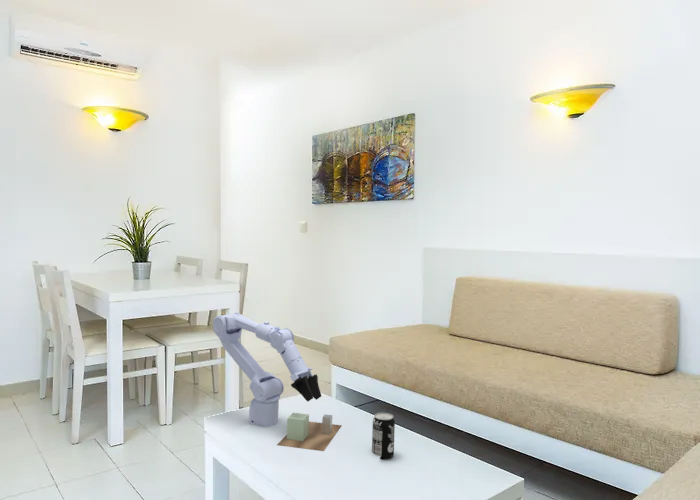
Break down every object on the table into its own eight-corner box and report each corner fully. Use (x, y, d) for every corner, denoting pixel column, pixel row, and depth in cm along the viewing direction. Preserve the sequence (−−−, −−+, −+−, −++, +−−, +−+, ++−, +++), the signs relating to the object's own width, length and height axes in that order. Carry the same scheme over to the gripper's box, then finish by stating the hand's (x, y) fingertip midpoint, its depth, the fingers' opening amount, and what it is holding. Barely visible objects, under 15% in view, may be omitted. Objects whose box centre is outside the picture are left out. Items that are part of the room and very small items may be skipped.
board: (276, 448, 157) (276, 445, 157) (300, 423, 179) (300, 420, 179) (323, 455, 154) (323, 451, 154) (341, 428, 175) (342, 425, 175)
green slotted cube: (286, 439, 162) (287, 418, 162) (292, 432, 167) (293, 412, 167) (303, 441, 161) (303, 420, 161) (308, 434, 166) (308, 414, 166)
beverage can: (393, 451, 158) (395, 412, 157) (393, 461, 151) (394, 420, 151) (372, 450, 158) (373, 411, 158) (371, 459, 152) (372, 419, 151)
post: (322, 433, 167) (322, 417, 167) (324, 431, 170) (324, 414, 170) (329, 434, 167) (330, 417, 166) (331, 431, 169) (332, 415, 169)
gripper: (295, 355, 162) (316, 393, 158) (312, 355, 176) (331, 390, 172) (278, 367, 163) (298, 406, 159) (295, 366, 177) (314, 402, 172)
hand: (314, 399), depth 165 cm, fingers open, 7 cm apart
